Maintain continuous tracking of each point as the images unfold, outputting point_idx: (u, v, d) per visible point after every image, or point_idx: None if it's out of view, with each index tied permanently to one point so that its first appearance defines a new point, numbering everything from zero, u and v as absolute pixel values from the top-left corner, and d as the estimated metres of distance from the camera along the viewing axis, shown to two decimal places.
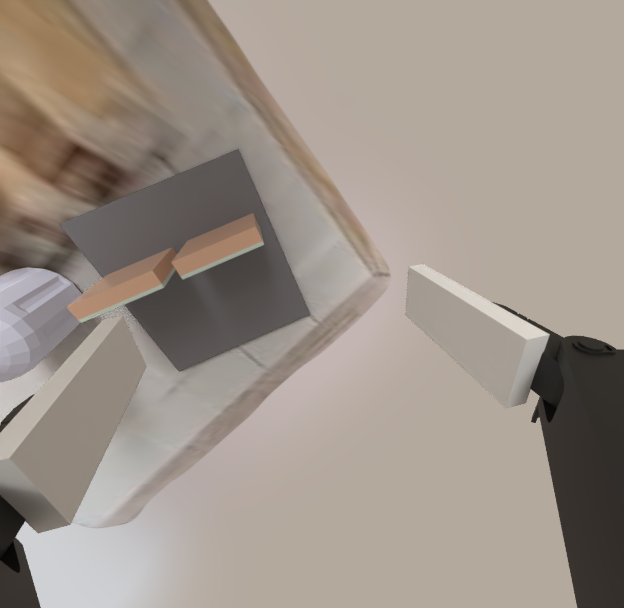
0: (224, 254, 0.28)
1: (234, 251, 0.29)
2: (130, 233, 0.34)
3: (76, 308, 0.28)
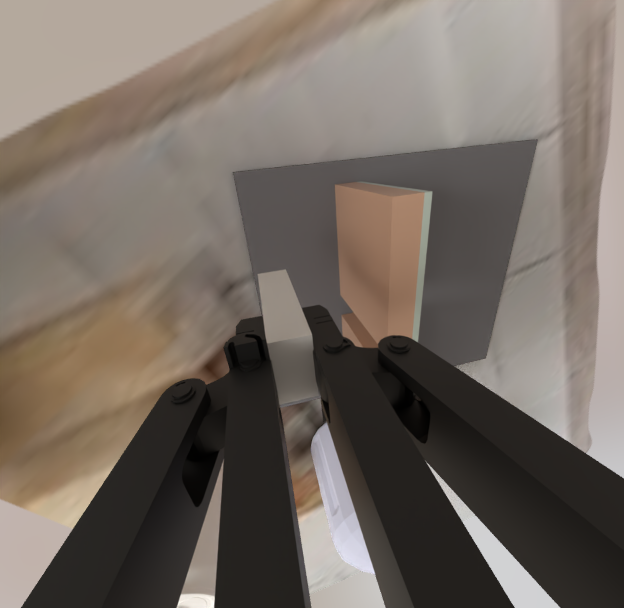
0: (413, 275, 0.15)
1: (416, 255, 0.14)
2: None
3: None
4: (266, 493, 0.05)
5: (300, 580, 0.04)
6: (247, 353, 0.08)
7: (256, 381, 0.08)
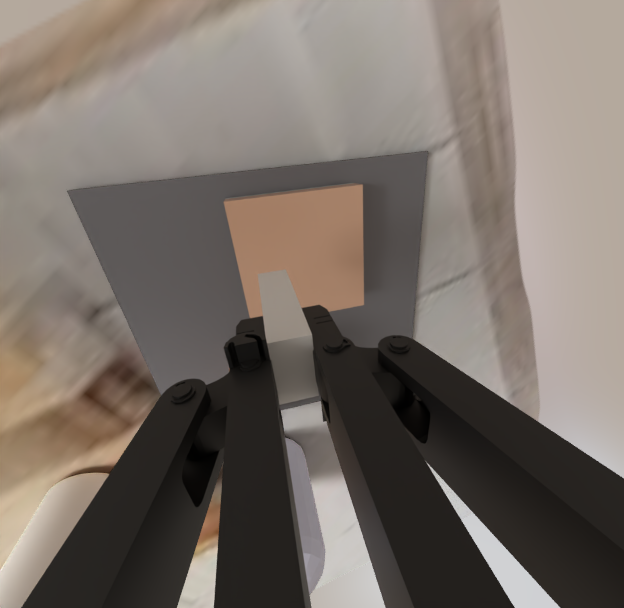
0: None
1: None
2: (201, 378, 0.25)
3: None
4: (266, 493, 0.05)
5: (300, 580, 0.04)
6: (247, 353, 0.08)
7: (256, 381, 0.08)
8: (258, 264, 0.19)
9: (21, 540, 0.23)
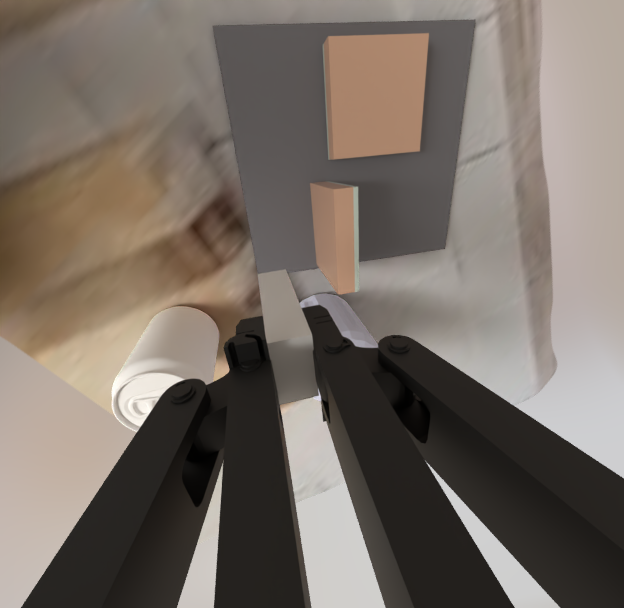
0: None
1: None
2: (282, 220, 0.31)
3: (343, 286, 0.26)
4: (266, 493, 0.05)
5: (300, 580, 0.04)
6: (247, 353, 0.08)
7: (256, 381, 0.08)
8: (345, 98, 0.25)
9: (145, 334, 0.28)
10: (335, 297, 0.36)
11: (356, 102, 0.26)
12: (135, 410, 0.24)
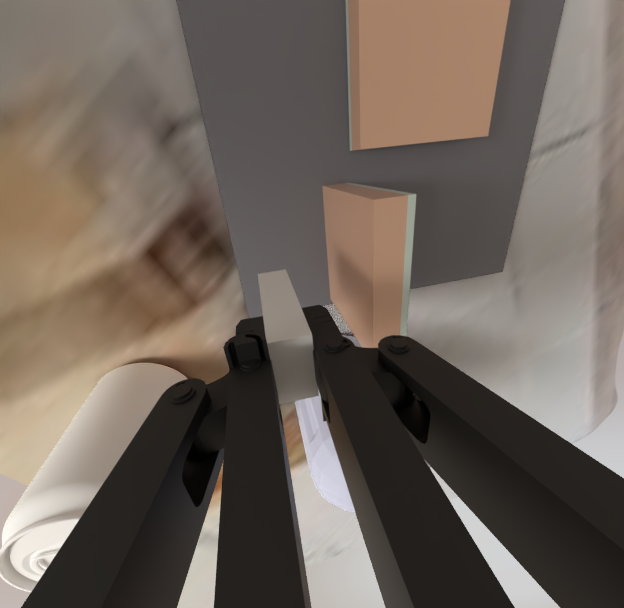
0: None
1: None
2: (282, 240, 0.21)
3: None
4: (266, 493, 0.05)
5: (300, 580, 0.04)
6: (247, 353, 0.08)
7: (256, 381, 0.08)
8: (382, 49, 0.16)
9: (76, 418, 0.19)
10: (355, 340, 0.26)
11: (399, 56, 0.16)
12: (44, 567, 0.15)
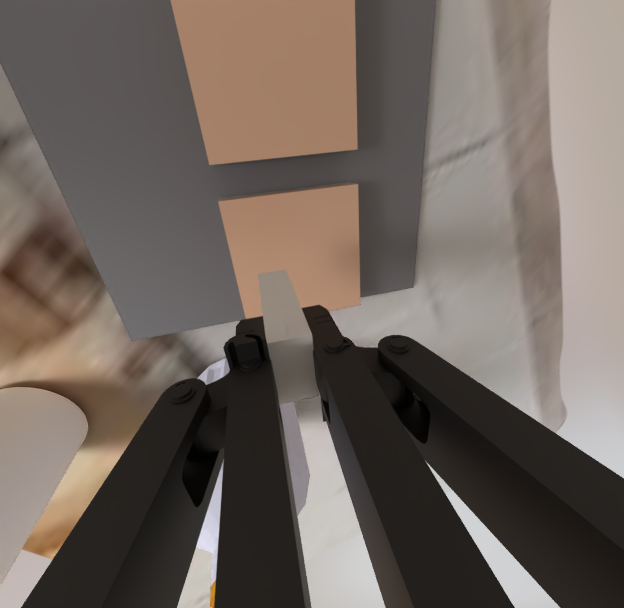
0: None
1: None
2: (153, 259, 0.20)
3: None
4: (266, 493, 0.05)
5: (300, 580, 0.04)
6: (247, 353, 0.08)
7: (256, 381, 0.08)
8: (212, 58, 0.14)
9: None
10: None
11: (233, 65, 0.15)
12: None
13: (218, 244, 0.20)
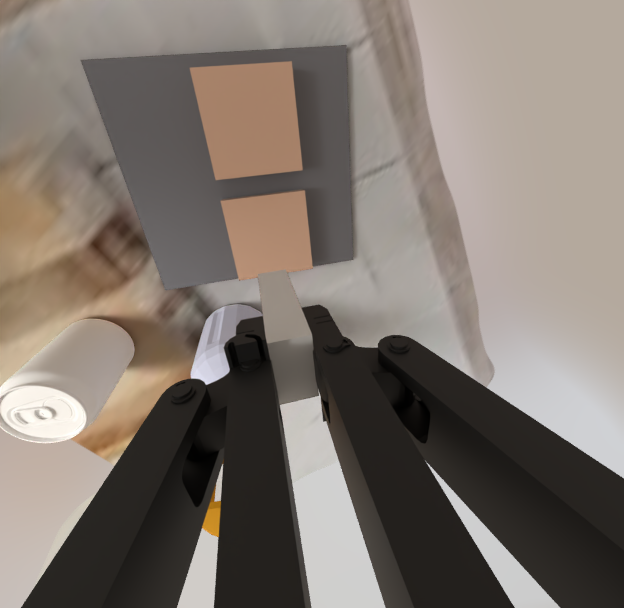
0: None
1: None
2: (181, 236, 0.32)
3: (311, 261, 0.35)
4: (266, 493, 0.05)
5: (300, 580, 0.04)
6: (247, 353, 0.08)
7: (256, 381, 0.08)
8: (217, 124, 0.27)
9: None
10: (246, 307, 0.37)
11: (229, 127, 0.27)
12: (19, 420, 0.26)
13: (220, 227, 0.33)
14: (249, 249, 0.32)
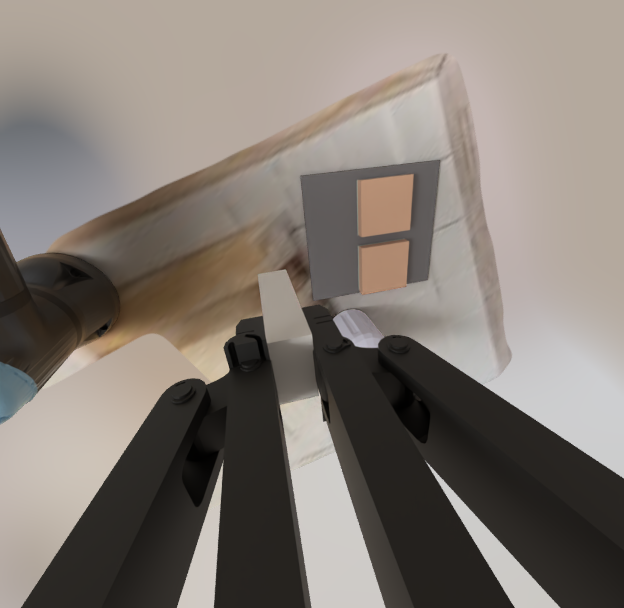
0: None
1: None
2: (330, 268, 0.52)
3: None
4: (266, 493, 0.05)
5: (300, 580, 0.04)
6: (247, 353, 0.08)
7: (256, 381, 0.08)
8: (369, 207, 0.47)
9: None
10: (359, 311, 0.57)
11: (374, 208, 0.47)
12: None
13: (353, 262, 0.53)
14: (372, 275, 0.52)
